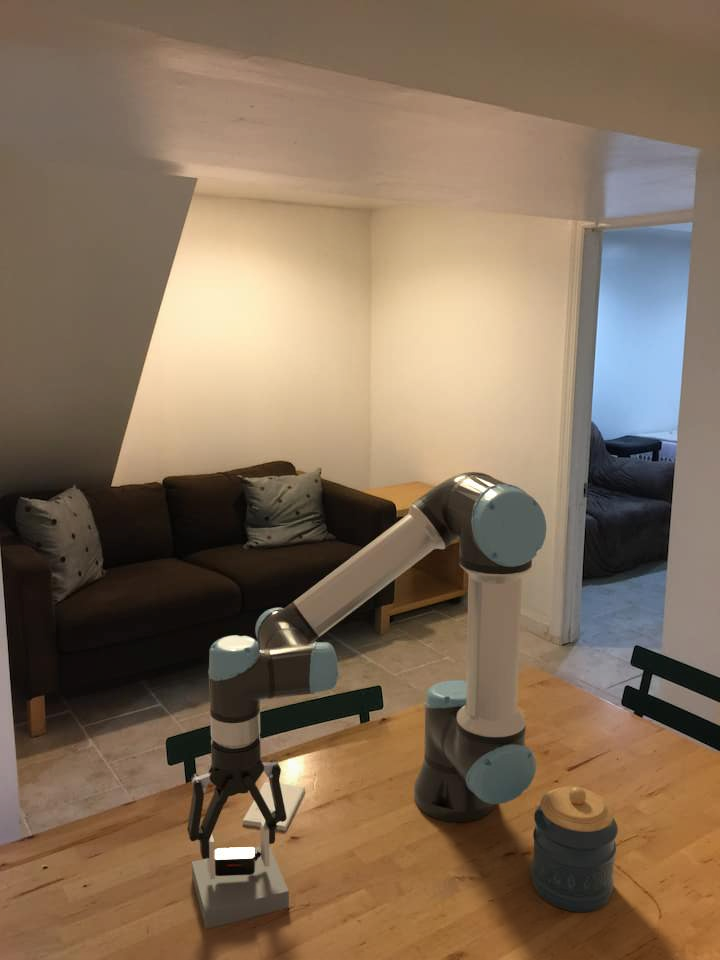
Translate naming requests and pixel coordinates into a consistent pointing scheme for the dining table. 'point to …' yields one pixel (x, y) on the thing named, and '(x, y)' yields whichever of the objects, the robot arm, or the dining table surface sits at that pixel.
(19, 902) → the dining table surface
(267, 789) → the external hard drive
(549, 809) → the canister
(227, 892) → the stand
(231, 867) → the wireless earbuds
